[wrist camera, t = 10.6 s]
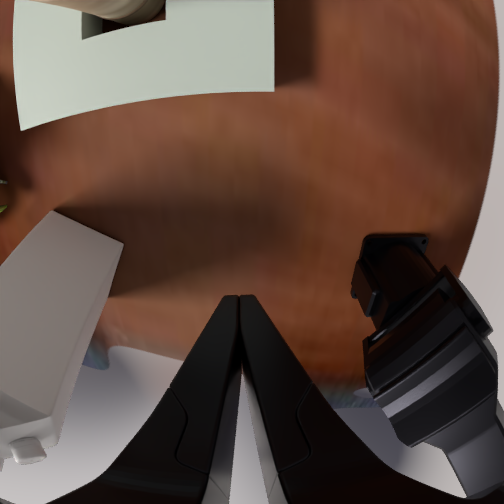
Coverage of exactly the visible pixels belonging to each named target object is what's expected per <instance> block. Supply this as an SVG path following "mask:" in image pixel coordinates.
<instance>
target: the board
mask: <svg viewBox="0 0 504 504" xmlns="http://www.w3.org/2000/svg"><path fill="white" fill-rule="evenodd" d="M13 63H14V79H15V91H16V100H17V108H18V115H19V122H20V128H21V131H22V130H25V129H28V128H31V127H34V126H37V125H40V124H43V123H47V122H50V121H53V120H57V119H60V118H64V117H67V116H71V115H75V114H79V113H83V112H87V111H91V110H96V109H100V108H105V107H110V106H115V105H120V104H125V103H131V102H137V101H143V100H150V99H157V98H164V97H173V96H182V95H192V94H205V93H221V92H251V91H271V92H274V0H166V20H162V21H156V22H151V23H146V24H141V25H136V26H131V27H127V28H123V29H119V30H115V31H111V32H107V33H104V34H103V31H102V18H100V17H98V16H96V15H93V14H89V13H85V12H82V11H78V10H74V9H70V8H65V7H61V6H56V5H51V4H46V3H41V2H35V1H29V0H15V6H14V22H13Z"/></svg>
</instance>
